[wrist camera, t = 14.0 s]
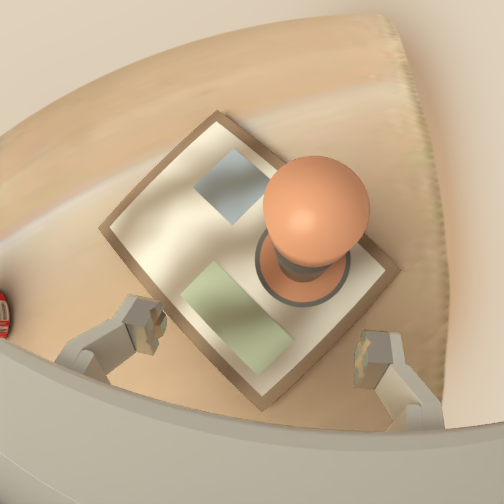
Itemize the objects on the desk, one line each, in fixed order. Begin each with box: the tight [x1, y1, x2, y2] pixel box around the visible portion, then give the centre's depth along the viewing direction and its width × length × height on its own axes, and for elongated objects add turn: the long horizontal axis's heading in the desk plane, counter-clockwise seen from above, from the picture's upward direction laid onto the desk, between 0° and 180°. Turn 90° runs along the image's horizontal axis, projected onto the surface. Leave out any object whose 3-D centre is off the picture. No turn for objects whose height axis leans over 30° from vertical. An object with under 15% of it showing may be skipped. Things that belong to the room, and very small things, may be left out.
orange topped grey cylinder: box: [263, 156, 370, 282], centre depth 18 cm, size 4×4×13 cm
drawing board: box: [98, 110, 401, 412], centre depth 26 cm, size 22×16×1 cm
